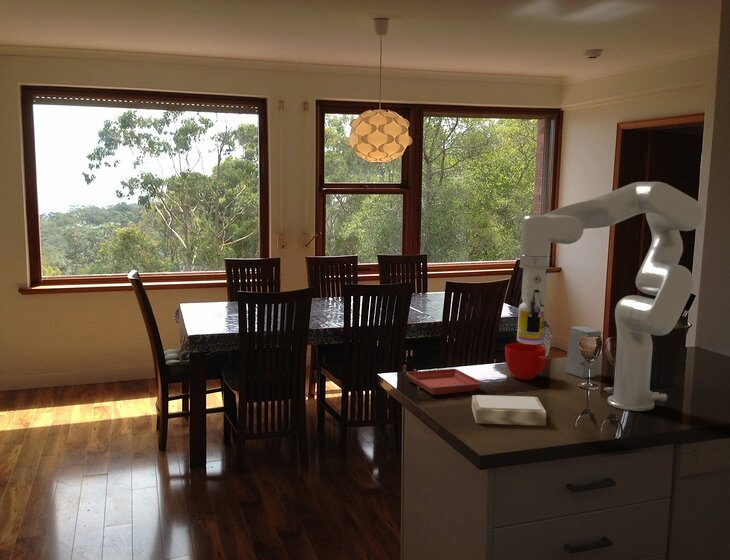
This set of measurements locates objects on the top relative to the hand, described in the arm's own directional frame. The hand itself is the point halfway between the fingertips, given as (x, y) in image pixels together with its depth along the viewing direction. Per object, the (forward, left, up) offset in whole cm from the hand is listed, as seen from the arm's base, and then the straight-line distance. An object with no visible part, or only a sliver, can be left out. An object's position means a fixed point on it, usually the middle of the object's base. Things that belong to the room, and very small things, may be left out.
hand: (530, 328), depth 182 cm
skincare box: (-26, -46, -24) cm, 58 cm away
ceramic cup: (-7, -39, -24) cm, 46 cm away
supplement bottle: (0, 0, -4) cm, 4 cm away
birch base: (+5, 0, -24) cm, 25 cm away
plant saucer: (+21, -27, -25) cm, 42 cm away
